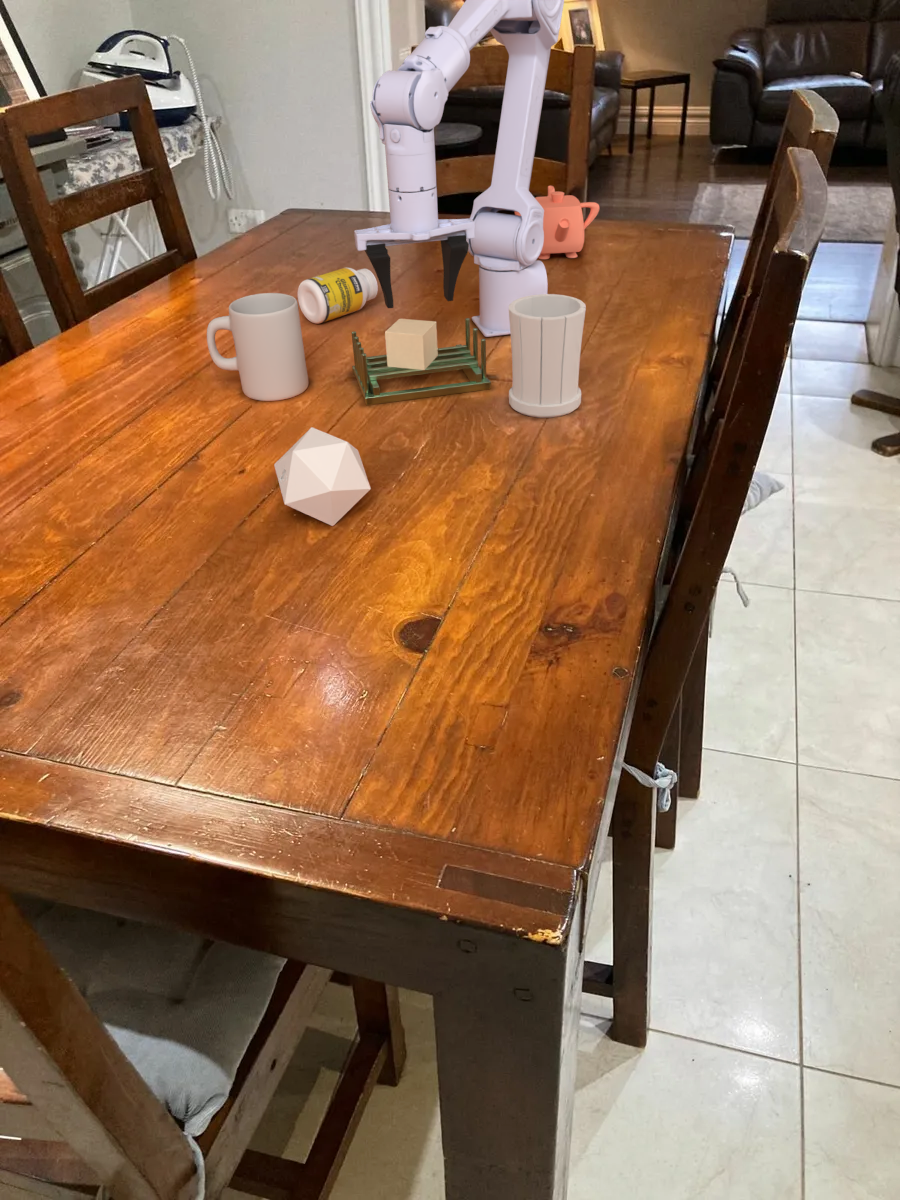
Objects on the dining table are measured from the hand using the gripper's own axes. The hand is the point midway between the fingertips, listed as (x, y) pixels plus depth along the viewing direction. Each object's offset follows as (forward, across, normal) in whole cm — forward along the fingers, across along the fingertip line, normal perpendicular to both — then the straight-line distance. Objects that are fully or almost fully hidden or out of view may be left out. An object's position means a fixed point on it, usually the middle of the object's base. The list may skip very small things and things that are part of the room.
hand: (419, 302), depth 118 cm
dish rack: (+9, -1, -3) cm, 10 cm away
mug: (+9, -21, +2) cm, 23 cm away
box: (+6, -2, -3) cm, 7 cm away
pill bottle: (+6, -12, +24) cm, 27 cm away
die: (+9, -17, -33) cm, 38 cm away
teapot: (+10, +34, +46) cm, 58 cm away
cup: (+10, +12, -14) cm, 20 cm away
